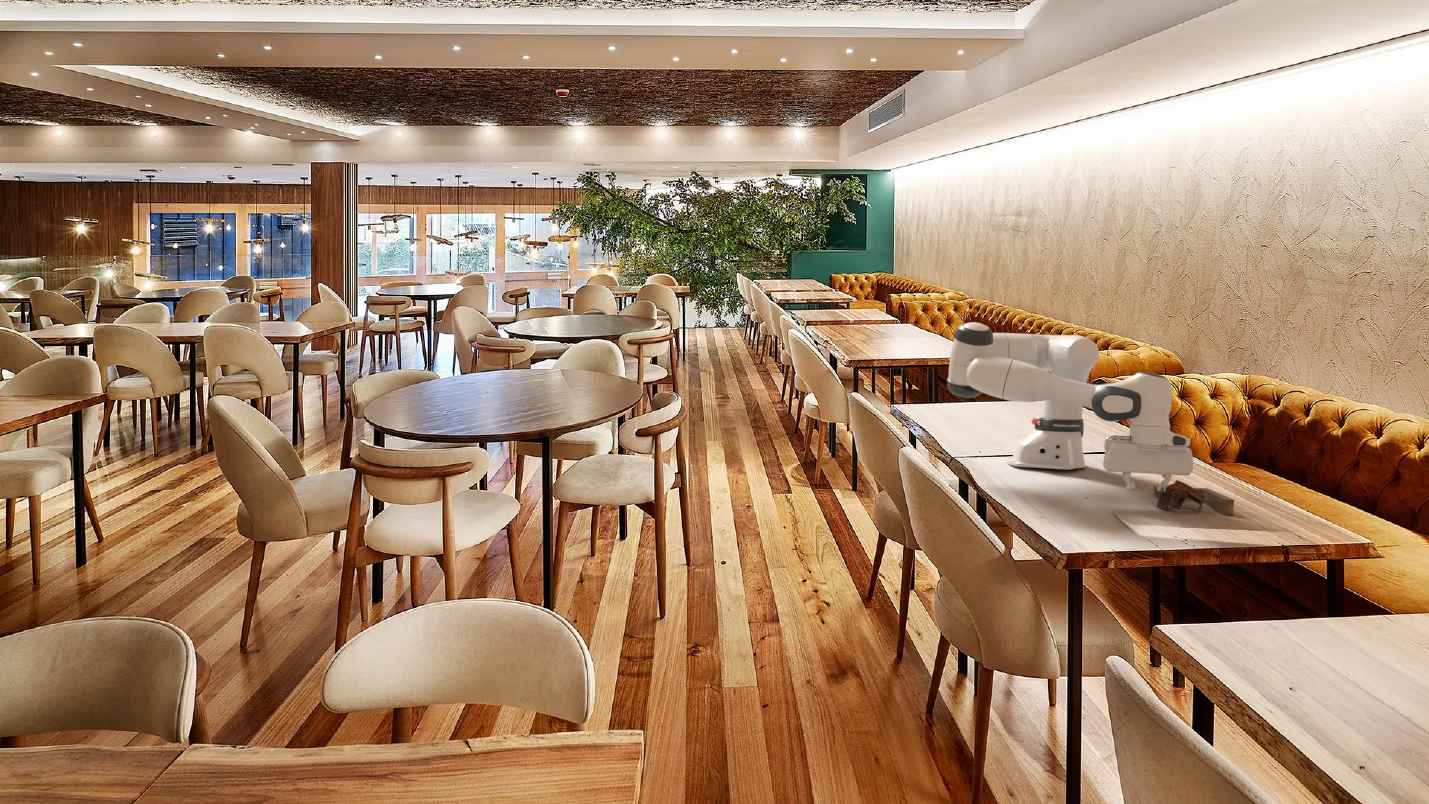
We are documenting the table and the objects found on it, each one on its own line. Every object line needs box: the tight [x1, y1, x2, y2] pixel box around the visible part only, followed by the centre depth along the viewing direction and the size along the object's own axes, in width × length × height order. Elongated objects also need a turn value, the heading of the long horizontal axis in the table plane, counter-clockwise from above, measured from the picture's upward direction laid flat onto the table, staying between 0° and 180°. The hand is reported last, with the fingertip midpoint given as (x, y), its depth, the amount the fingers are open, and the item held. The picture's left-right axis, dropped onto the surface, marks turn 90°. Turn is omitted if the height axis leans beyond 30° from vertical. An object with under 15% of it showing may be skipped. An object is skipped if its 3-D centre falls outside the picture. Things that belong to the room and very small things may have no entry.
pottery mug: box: [1156, 479, 1204, 512], centre depth 204 cm, size 12×9×8 cm
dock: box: [1152, 485, 1235, 517], centre depth 207 cm, size 13×16×4 cm
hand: (1145, 490), depth 206 cm, fingers open, 6 cm apart
